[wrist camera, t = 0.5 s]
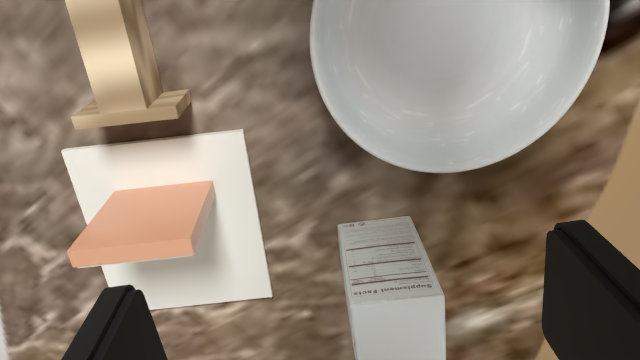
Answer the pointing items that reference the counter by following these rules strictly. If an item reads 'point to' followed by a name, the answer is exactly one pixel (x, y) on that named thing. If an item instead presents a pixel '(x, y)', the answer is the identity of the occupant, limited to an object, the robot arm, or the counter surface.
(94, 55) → the tall beige plank
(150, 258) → the tile
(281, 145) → the counter surface
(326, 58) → the serving bowl
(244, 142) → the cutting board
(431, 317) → the supplement box
